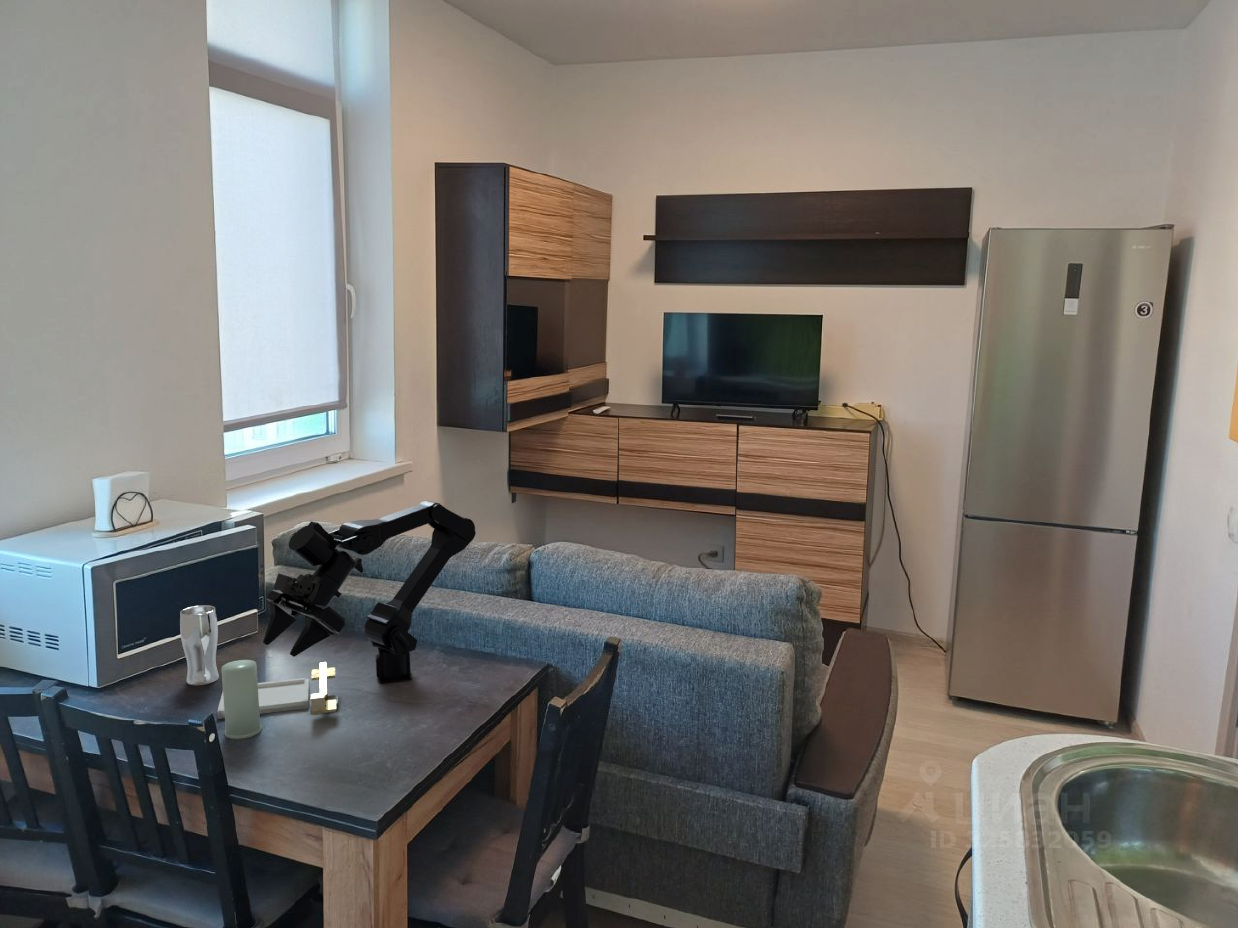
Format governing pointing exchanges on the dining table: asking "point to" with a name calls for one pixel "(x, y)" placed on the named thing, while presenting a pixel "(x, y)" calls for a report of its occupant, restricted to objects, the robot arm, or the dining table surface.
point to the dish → (279, 696)
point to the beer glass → (200, 643)
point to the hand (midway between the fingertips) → (278, 649)
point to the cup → (241, 699)
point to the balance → (323, 691)
